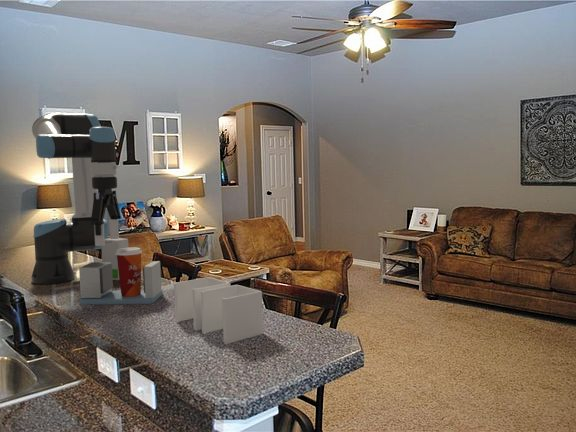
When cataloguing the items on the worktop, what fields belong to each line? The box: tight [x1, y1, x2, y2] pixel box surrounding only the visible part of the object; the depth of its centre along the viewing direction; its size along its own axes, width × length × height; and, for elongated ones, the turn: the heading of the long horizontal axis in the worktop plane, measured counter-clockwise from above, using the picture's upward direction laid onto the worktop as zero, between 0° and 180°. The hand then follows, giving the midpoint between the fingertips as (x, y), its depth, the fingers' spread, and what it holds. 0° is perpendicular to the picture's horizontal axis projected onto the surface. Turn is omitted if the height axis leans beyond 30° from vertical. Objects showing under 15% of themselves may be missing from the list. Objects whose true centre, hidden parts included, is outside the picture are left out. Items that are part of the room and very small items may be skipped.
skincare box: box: [101, 237, 129, 281], centre depth 202 cm, size 8×7×16 cm
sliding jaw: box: [78, 261, 114, 299], centre depth 168 cm, size 10×7×10 cm
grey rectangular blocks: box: [173, 276, 264, 345], centre depth 136 cm, size 25×11×11 cm, turn 40°
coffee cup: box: [116, 246, 143, 297], centre depth 168 cm, size 8×8×15 cm
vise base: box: [79, 260, 164, 306], centre depth 168 cm, size 12×23×12 cm, turn 88°
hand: (107, 242), depth 168 cm, fingers open, 13 cm apart
